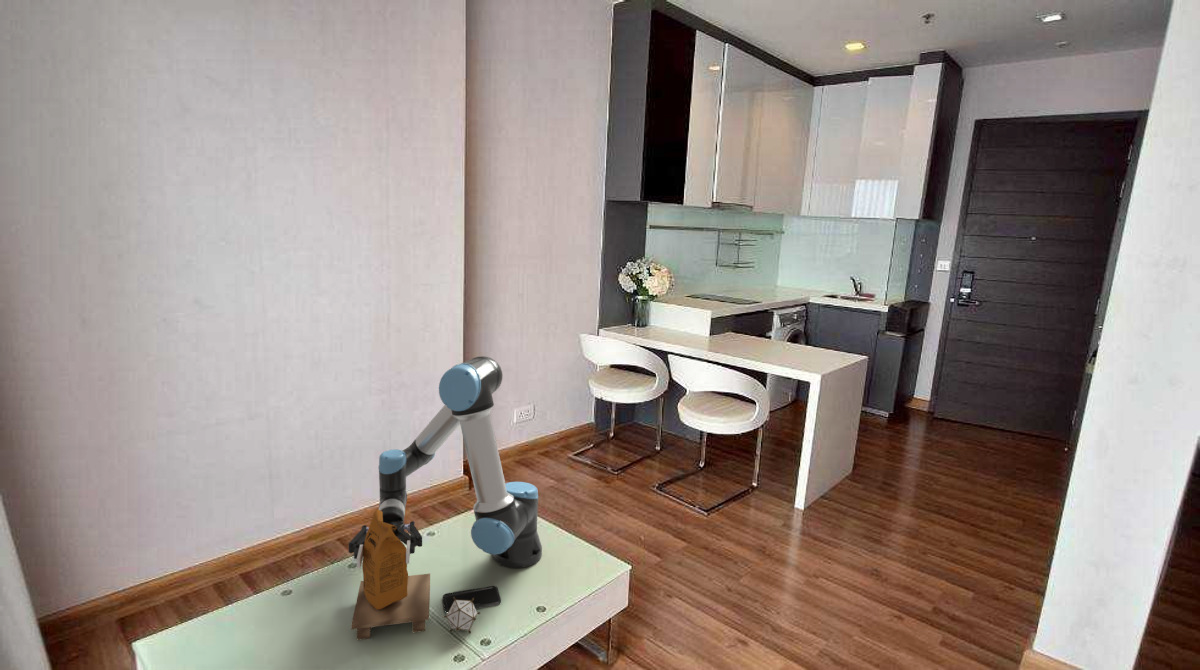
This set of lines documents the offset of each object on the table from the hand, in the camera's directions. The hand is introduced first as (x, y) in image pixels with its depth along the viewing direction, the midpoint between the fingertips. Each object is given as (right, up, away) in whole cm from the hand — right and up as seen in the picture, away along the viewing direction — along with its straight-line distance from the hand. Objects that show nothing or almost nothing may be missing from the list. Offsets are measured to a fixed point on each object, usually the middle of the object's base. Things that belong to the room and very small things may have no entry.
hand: (383, 561), depth 145 cm
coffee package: (-2, -11, +6) cm, 13 cm away
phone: (+19, -17, +14) cm, 29 cm away
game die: (+19, -18, +3) cm, 27 cm away
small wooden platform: (0, -17, +7) cm, 18 cm away
